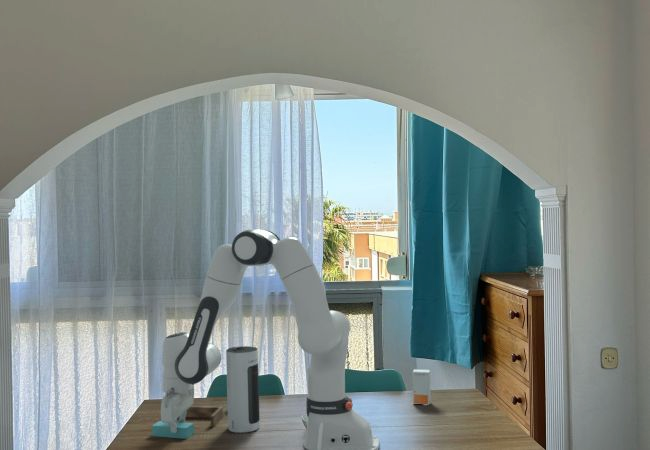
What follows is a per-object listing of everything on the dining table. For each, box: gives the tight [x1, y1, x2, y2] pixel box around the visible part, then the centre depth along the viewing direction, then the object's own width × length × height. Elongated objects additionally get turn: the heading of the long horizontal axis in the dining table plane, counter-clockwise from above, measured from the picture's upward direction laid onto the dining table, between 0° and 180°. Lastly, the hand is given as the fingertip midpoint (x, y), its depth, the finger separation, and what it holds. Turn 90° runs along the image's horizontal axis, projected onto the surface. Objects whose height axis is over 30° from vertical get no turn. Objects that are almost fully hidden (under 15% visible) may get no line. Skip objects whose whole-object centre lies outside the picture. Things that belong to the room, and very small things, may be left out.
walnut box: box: [186, 405, 224, 428], centre depth 217 cm, size 18×11×4 cm, turn 83°
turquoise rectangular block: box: [151, 420, 195, 440], centre depth 204 cm, size 12×5×4 cm, turn 74°
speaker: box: [225, 345, 261, 434], centre depth 209 cm, size 11×10×26 cm
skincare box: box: [412, 368, 432, 405], centre depth 233 cm, size 6×4×12 cm
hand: (178, 428), depth 203 cm, fingers open, 5 cm apart
